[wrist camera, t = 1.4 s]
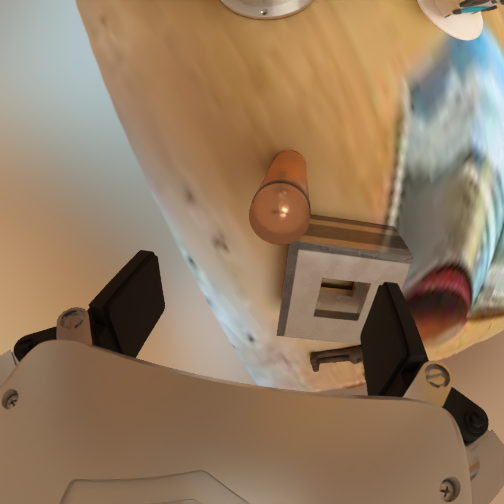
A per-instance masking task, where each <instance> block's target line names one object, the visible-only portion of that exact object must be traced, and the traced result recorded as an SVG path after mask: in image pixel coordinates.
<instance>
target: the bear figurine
mask: <svg viewBox="0 0 504 504" xmlns="http://www.w3.org/2000/svg"><path fill="white" fill-rule="evenodd" d="M338 355H348V356H338ZM326 356H329V357H326ZM331 356H337V357H331ZM319 357H325V358H319ZM310 361H311V365H312V368H313V371H314V372H317V371H318V370H319V365H320V363H329V362H334V363H335V362H341V361H351V362H352V363H353V364H357V363H359V362H361V361H363V354H362V348H361V346H358V347H352V348H350V349H343V350H332V351H321V352H312V354H311V358H310ZM363 363H364V361H363ZM364 369H365V368H364ZM365 380H366V375H365Z"/></svg>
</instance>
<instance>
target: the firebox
mask: <svg viewBox="0 0 504 504" xmlns="http://www.w3.org/2000/svg"><path fill="white" fill-rule="evenodd" d="M412 259H413V255H412V254H411V252H410V250H409V249H408V247H407V246H406V244H405V243H404V241H403V240H402V238H401V236H400V235H399V233H398V232H397V230H396V229H395V228H394V227H391V226H385V225H379V224H373V223H366V222H360V221H353V220H346V219H339V218H332V217H325V216H317V215H310V223H309V226H308V229H307V230H306V232H305V233H304V235H303V236H302V237H301V238H299V239H298V240H296V241H294V242H292V243H289V248H288V256H287V264H286V271H285V278H284V286H283V293H282V300H281V307H280V315H279V322H278V330H277V336H285V337H293V338H302V339H311V340H321V341H331V342H343V343H356V344H361V341H360V335H361V331H362V329H363V326H364V324H365V321H366V319H367V316H368V314H369V311H370V308H371V306H372V303H373V300H374V297H375V295H376V292H377V289H378V286H379V285H383V283H384V282H393V283H398V285H399V287H400V289H402V286H403V284H404V281H405V278H406V276H407V273H408V270H409V267H410V265H411V262H412ZM322 278H329V279H337V280H346V281H355V282H354V285H353V288H352V290H344V289H336V288H327V287H320V286H321V282H322Z"/></svg>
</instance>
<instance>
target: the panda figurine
mask: <svg viewBox="0 0 504 504" xmlns="http://www.w3.org/2000/svg"><path fill="white" fill-rule="evenodd" d="M416 1H417V3H418V5H419V7H420V8H421V10H422V11H423V13H424V14H425V15H426V17H427V18H428V19H429V20H430V21H431V22H432V23H433V24H434V25H435V26H436V27H438V28H439V29H440V30H441V31H443V32H444V33H446V34H448V35H449V36H451V37H454V38H456V39H459V40H465V41H466V40H473V39H475V38H477V37H478V36H479V35H480V34H481V32H482V28H483V20H482V15H481V12H480V11H482V12H483V11H490V10H494V9H497V6H496V5H500V4H503V5H504V0H416Z"/></svg>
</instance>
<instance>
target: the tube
mask: <svg viewBox="0 0 504 504" xmlns="http://www.w3.org/2000/svg"><path fill="white" fill-rule="evenodd" d="M249 220H250V224H251V226H252V228H253V230H254V232H255V233H256V234H257V235H258V236H259V237H260V238H262V239H263V240H265V241H267V242H269V243H272V244H278V245H283V244H289V243H292V242H294V241H296V240H298V239H299V238H301V237H302V236H303V235H304V233H305V232H306V230H307V229H308V226H309V223H310V202H309V195H308V183H307V172H306V163H305V160H304V158H303V157H302V156H301V155H300V154H299V153H298V152H296V151H292V150H286V151H283V152H281V153H279V154H278V155H277V156H276V157H275V159H274V161H273V163H272V165H271V167H270V169H269V171H268V173H267V175H266V177H265V178H264V180H263V182H262V184H261V186H260V188H259V190H258V191H257V193H256V194H255V196H254V198H253V201H252V204H251V206H250V210H249Z"/></svg>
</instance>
